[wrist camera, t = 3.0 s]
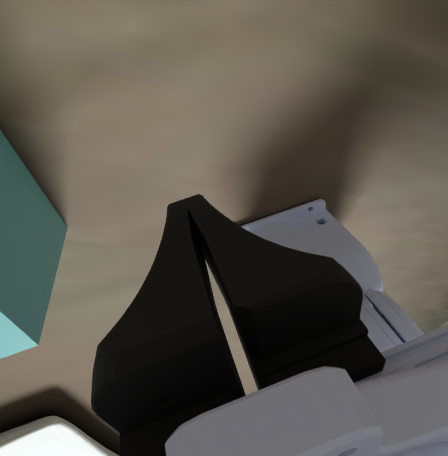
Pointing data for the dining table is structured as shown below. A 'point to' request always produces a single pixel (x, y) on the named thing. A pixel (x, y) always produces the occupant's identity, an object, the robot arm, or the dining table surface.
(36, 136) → the dining table surface
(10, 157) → the teal slab
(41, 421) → the square plate
